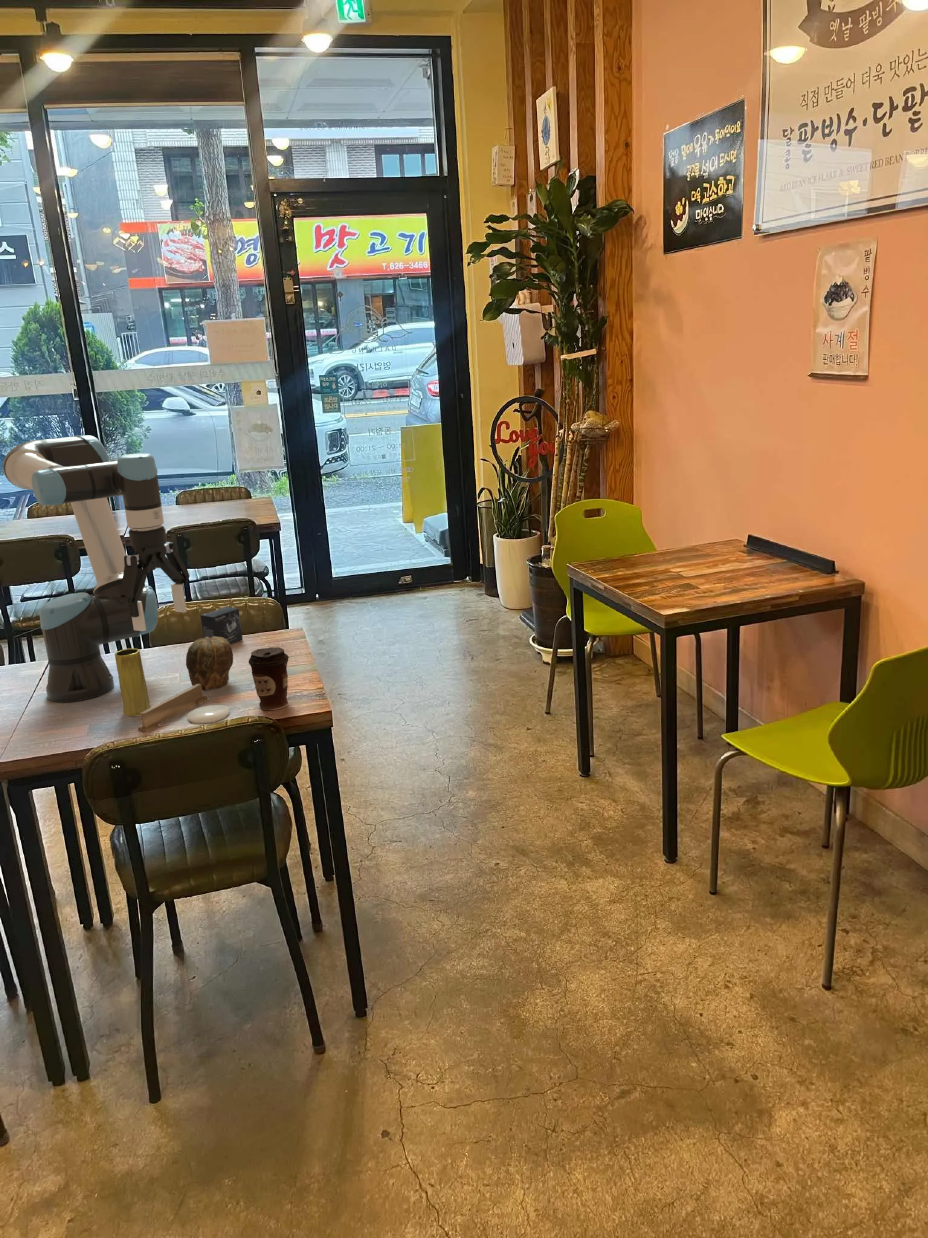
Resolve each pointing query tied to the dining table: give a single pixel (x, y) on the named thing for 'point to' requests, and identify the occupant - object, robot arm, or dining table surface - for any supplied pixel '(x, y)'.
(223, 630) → the box
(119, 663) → the vase
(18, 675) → the dining table surface
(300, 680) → the dining table surface
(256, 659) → the coffee cup
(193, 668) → the shell
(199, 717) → the coaster
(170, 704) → the divider
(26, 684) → the dining table surface
